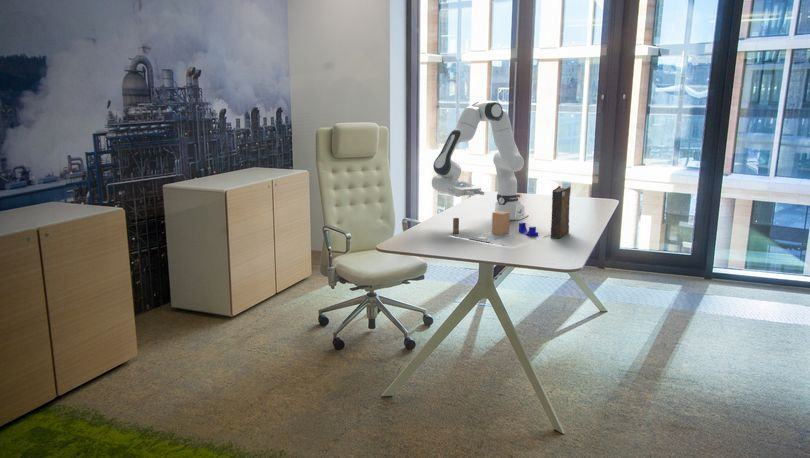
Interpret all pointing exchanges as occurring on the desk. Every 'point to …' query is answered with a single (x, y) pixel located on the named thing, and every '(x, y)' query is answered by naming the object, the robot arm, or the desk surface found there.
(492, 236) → the board
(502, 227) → the block
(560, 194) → the book
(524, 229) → the cable clip
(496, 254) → the desk surface
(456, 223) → the pin
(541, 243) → the desk surface
